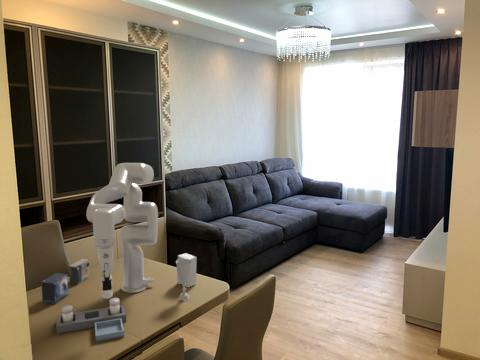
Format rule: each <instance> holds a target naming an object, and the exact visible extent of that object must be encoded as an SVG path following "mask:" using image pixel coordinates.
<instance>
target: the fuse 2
mask: <svg viewBox="0 0 480 360" xmlns="http://www.w3.org/2000/svg"><path fill="white" fill-rule="evenodd" d="M120 301H121V300H120V298H118V297H111V298H109V302H108V303H109V307H110V315H114V314H120V307H119V305H120V303H121V302H120Z"/></svg>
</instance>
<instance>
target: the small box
mask: <svg viewBox="0 0 480 360" xmlns="http://www.w3.org/2000/svg"><path fill="white" fill-rule="evenodd" d="M68 279H69V277H68V274H66V273H60V272H59V273H58V272H55V273H53V274H51V275H50V276H49V277H47V278H45V279H43V280H41V292H42V293H41V298H42V304H46V305H52V306H53V305H56V304H58V303H59V302H60V301H62V300H63V299H64V298H66V297H68V296H69V284H68V283H69V280H68Z"/></svg>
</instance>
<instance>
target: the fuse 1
mask: <svg viewBox="0 0 480 360" xmlns="http://www.w3.org/2000/svg"><path fill="white" fill-rule="evenodd" d="M73 308H74V307H73V305H72V304H67V305H63V306H62V307H61V313H62V314H61V315H63V323H66V322H72V321H73V313H74V312H73V311H74V309H73Z"/></svg>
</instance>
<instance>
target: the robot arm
mask: <svg viewBox="0 0 480 360" xmlns="http://www.w3.org/2000/svg"><path fill="white" fill-rule="evenodd" d="M154 173H155V172H154V169H153V167H152V166H151V165H149V164H146V163H144V162H121V163H118V164H117V165H116V166H115V168H114V170H113V173H112V175H111V177H110V180H109V183H108V184H107V185H105V186H104V187H103V188H101V189H99V190H98V191H96V192H95V193H94V194H93V195H92V196H91V199H90V201H89V204H88V206H87V208H86V219H87V221H88V222H90V223H92V230H93V246H94V248H95V249H97V254H98V257H97V258H98V265H99V270H100V274H102V275H101V276H103V280H102V284H103V291H107V290H111V289H112V290H113V282H112V283H111V275H112V274H111V273H115V259H114V246H115V245H116V234H115V233H116V231H115V229H116V227H115V225H118V224H119V223H122V222H123V221H124V220H125V221H127V222H131V223H132V222H133V223H138V222H139V223H147V224H126V225H124V226H122V227H121V228H120V231H119V237H120V238H119V239H120V241H121V249H122V265H123V266H122V267H123V283H122V284H121V286H120V289H121V291H122V292H124V293H128V294H135V293H140V292H143V291H145V290H146V289H148V286H149V285H148V284H150V283H154V282H155V278H153V277H152V278H151V277H149V276H148V277H145V262H144V261H145V260H144V250H143V249H142V247H141V246H142V245H143V246H151V245H155V244H156V243H157V241H158V235H159V230H158V229H159V225H158V224H159V211H158V210H159V209H158V206H157V204H156V203H155V202H151V201H143V191H142V189H141V187H140V186H139V184H144V185H145V184H146V185H148V184H151V183H152V182H153V180H154V177H155V174H154ZM122 198H123V204H119V203H110V202H114V201H117V200H119V199H122ZM104 275H105V276H104Z"/></svg>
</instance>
